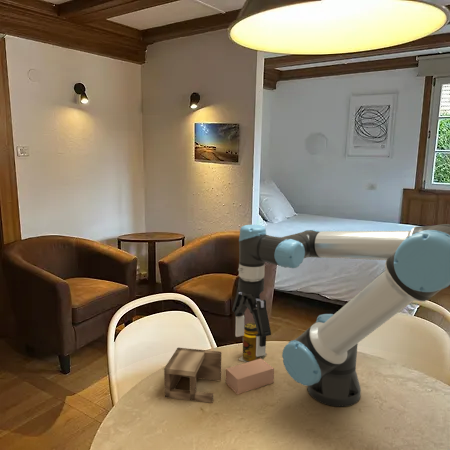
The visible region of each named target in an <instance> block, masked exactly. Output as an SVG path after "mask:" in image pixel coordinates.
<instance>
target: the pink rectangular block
mask: <svg viewBox="0 0 450 450" xmlns="http://www.w3.org/2000/svg"><path fill="white" fill-rule="evenodd" d="M274 379H275V368H274V367H273V366H271V365H270V364H269V363H268V362H266V361H265V360H264V358H263V359H257V360H254V361H250V362H244V363H240V364H237V365H233V366H230V367H226V368H225V384H227V386H228V387H229V388H230V389H231V390H232V391H233V392H234V393H235V394H236V395H240V394H243V393H247V392H248V391H251V390H255V389H258V388H262V387H264V386H267V385H270V384H274V382H275V381H274Z"/></svg>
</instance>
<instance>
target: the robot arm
mask: <svg viewBox="0 0 450 450" xmlns="http://www.w3.org/2000/svg"><path fill="white" fill-rule="evenodd" d="M266 229H267V228H266V227H265V226H264V225H260V224H246V225H242V226H241V227H240V229H239V238H238V249H239V250H238V251H239V252H238V253H239V254H238V255H239V256H238V257H239V260H238V269H237V271H238V277H239V278H238V284H237V285H238V287H236V294H235V299H234V302H233V305H232V308H231V311H232V312H233V313H234V316H235V333H234V334H235V337H236V338H238V337H243V336H244V325H245V317H246V316H245V312H246V310H247V309H248V310H249V313H250V314H252V318H253V321H254V323H255V325H256V328H257V331H258V334H256V356H257V357H258V356H263V355H265V353H266V351H267V350H266V349H267V348H266V347H267V346H266V345H267V337H268V336H271V335H272V331H271V327H270V321H269V316H268V311H267V301H266V299H261V294H262V293H263V292H264V291H265V273H266V271H265V270H266V269H265V265H266V264H265V263H268V264H271V265H275V266H280V267H282V268H289V269H297V268H299V266H300V265H301V264H302V263H303V261H304V259H306V258H316V259H317V258H320V259H321V258H324V259H325V258H326V259H328V258H329V259H348V260H349V259H350V260H367V261H369V260H370V261H371V260H372V261H385V262H384V265H385V270H384V271H383V272H382V273H381V274H379V275H378V276H377V277H376V278H374V280H373V281H371V282H370V283H369V284H367V285H366V286H365V287H364V288H363V289H362V290H361V291H359V292H358V293H357V294H356V295H355V296H353V297H352V299H350V300H349V301H348V302H347V303H346V304H344V305H343V306H342V307H341V308H340V309H338V311H336V312H335V313H334V314H333V313H322V314H319V315H318V316H317V318H316V321H315V322H314V323H313V324H312V325H311V326H310V327H308V328H307V329H306V330H305V331H304V332H302V333H301V335H299V336H298V337H297V338H294V339H293V340H290V341H289V342H288V343H287V344H285V346H284V347H283V350H282V355H281V357H282V363H283V367H284V368H285V371H286V372H287V374H288V375H289V376H290V377H291V379H293V380H294V381H295V382H296V383H298V384H301V385H303V386H306V387H307V392H308V394H309V395H310V397H312V398H313V399H314V400H316V401H317V402H319V403H322V404H325V405H327V406H330V407H331V406H332V407H339V408H340V407H348V406H352V405H355V404H357V403H358V402H359V400H360V399H361V394H362V393H361V391H362V390H361V385H360V381H359V378H358V373H357V354H358V345H359V343H360V342H361V341H363V340H364V339H366V338H367V337H368V336H369V335H371V334H372V333H374V332H375V331H376V330H378V329H379V328H380V327H381V326H383V325H384V324H385V323H386V322H388V321H389V320H390V319H392V318H393V317H394V316H396V315H398V313H399V312H401V311H402V310H403V309H405V308H406V307H407V306H409V305H410V304H411V303H413V302H415V301H416V302H419V303H420V302H421V303H425V302H427V301H428V300H429V299H431V298H432V297H433V296H435V295H437V294H438V293H439V292H441V291H442V290H444V289H446V288H448V287H449V286H450V224H449V223H443V224H437V225H427V226H422V225H421V226H413V227H412V228H411V230H345V231H344V230H343V231H342V230H341V231H339V230H337V231H336V230H333V231H330V230H329V231H325V230H324V231H323V230H320V231H319V230H316V229H307V230H304V231H301V232H297V233H293V234H289V235H286V236H281V237H279V236H274V235H273V236H272V235H268V234H267V231H266Z"/></svg>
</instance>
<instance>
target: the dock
mask: <svg viewBox="0 0 450 450" xmlns="http://www.w3.org/2000/svg"><path fill="white" fill-rule="evenodd" d="M163 375H164V376H163V377H164V398H167V399H168V398H169V399H175V400H176V399H177V400H185V401H193V402H200V403H201V402H203V403H210V404H211V403H213V402H214V393H211V392H204V391H197V380H198V379H199V380H206V381H216V382H221V381H222V351H219V350H207V349H198V348H195V349H194V348H189V347H188V348H186V347H177V348H176V349H175V351H174V353H173V354H172V355H171V358H170V359H169V361H168V362H167V363H166V365H165V367H164V368H163ZM181 378H188V379H189V390H187V389H180V388H179V389H177V388H176V387H177V385H178V383H179V382H180V380H181Z"/></svg>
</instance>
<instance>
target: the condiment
mask: <svg viewBox="0 0 450 450" xmlns="http://www.w3.org/2000/svg"><path fill="white" fill-rule="evenodd" d="M256 334H258V331H257V328H256V325H255V322H248V323H244V336H242V355H241V357H239V359H238V361H240V362H241V361H242V362H244V363H247V362H250V361H254V360H257V359H263V360H264V358H265V357H266V356H267V355H268V353H266V352H265V355H263V356H258V357H257V356H256Z"/></svg>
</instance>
